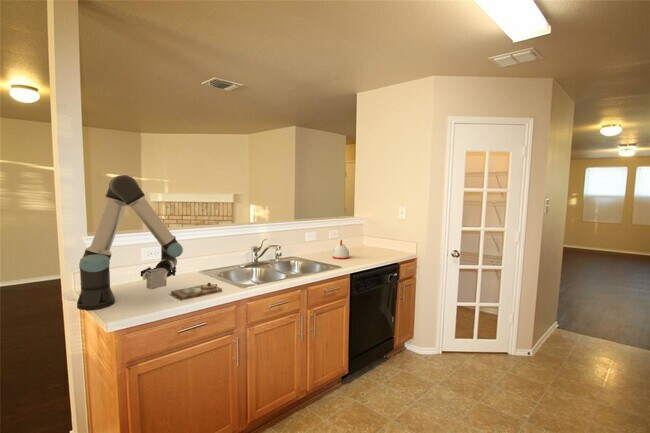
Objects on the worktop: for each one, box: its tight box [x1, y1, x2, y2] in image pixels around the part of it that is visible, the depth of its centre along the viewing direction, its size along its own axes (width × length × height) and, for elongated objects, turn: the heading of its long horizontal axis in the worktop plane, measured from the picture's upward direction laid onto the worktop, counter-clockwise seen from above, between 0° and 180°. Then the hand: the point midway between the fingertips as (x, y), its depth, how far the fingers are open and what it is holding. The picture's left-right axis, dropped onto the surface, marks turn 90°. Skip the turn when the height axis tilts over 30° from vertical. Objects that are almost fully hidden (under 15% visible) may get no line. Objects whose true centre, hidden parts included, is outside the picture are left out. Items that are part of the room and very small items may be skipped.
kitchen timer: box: [332, 239, 350, 261], centre depth 289 cm, size 14×14×15 cm
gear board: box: [170, 282, 223, 301], centre depth 188 cm, size 22×14×4 cm, turn 135°
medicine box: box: [145, 268, 167, 290], centre depth 170 cm, size 8×4×9 cm, turn 147°
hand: (154, 277), depth 165 cm, fingers closed on medicine box, 8 cm apart
